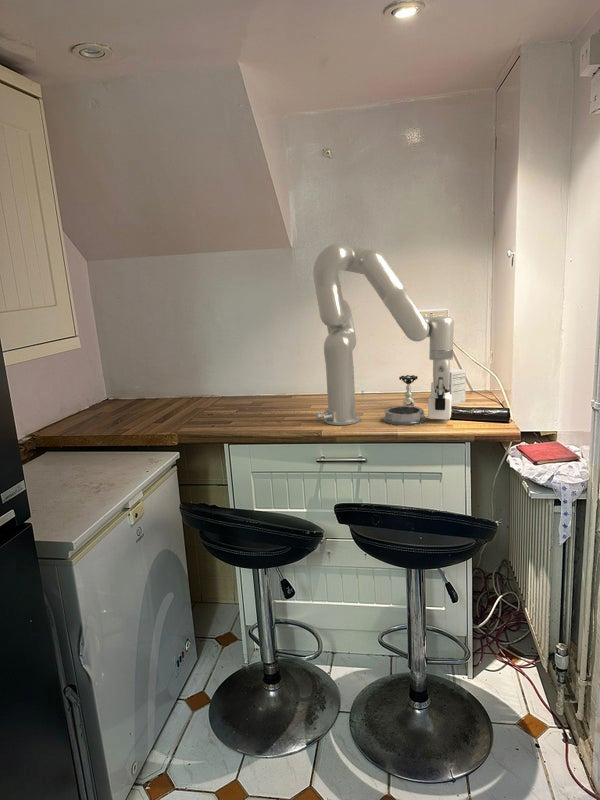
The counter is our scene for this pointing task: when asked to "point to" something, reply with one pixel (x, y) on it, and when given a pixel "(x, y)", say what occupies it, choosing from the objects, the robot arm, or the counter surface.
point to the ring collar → (404, 415)
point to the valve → (408, 389)
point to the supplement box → (457, 385)
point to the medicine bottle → (431, 405)
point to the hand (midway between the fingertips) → (439, 406)
